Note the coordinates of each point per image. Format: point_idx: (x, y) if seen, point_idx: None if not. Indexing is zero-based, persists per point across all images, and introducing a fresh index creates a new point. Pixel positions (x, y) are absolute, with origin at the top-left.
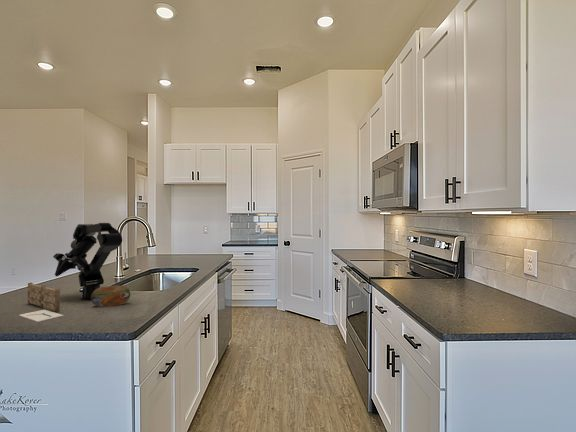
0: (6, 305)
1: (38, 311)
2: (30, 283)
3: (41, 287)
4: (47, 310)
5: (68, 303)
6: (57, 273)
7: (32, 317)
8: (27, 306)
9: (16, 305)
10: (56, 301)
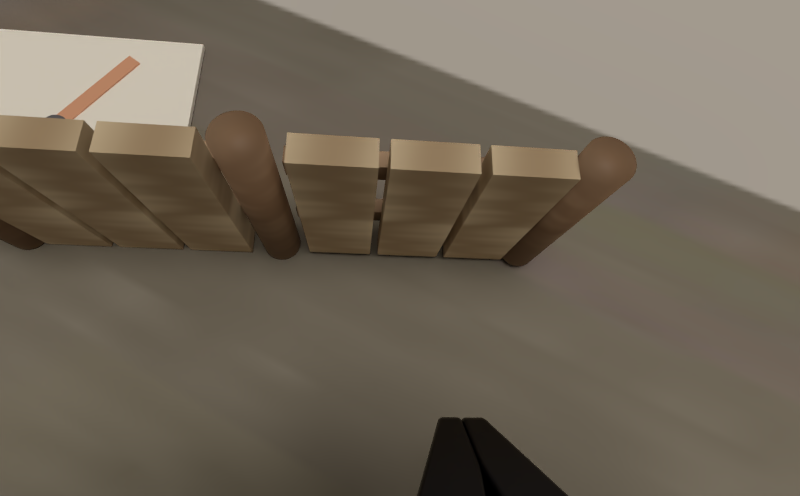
0: (588, 138)
1: None
2: (585, 153)
3: (236, 121)
4: None
5: (209, 458)
6: (427, 461)
7: (39, 50)
8: None
9: None
10: None
